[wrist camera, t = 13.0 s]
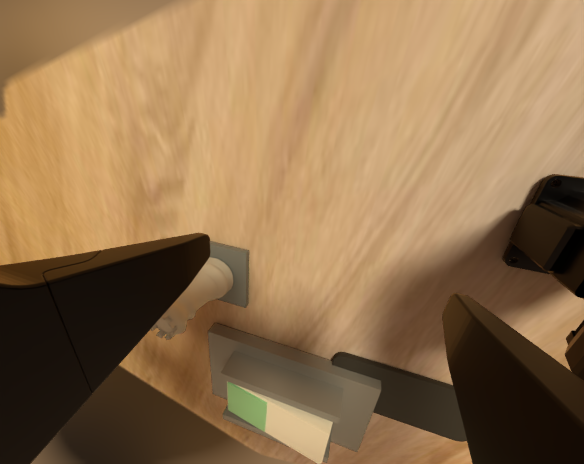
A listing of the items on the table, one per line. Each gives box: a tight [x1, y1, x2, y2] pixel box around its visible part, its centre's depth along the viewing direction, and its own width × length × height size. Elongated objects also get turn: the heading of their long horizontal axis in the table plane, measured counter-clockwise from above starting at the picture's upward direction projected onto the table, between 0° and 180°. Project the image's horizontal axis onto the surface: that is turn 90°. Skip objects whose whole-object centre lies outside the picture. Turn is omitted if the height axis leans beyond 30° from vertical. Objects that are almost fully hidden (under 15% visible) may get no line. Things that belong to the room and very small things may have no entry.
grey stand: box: [208, 323, 381, 463], centre depth 29 cm, size 20×12×4 cm, turn 84°
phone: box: [332, 352, 467, 441], centre depth 26 cm, size 7×1×15 cm
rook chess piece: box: [151, 257, 233, 340], centre depth 23 cm, size 4×4×8 cm
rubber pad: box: [210, 241, 249, 308], centre depth 27 cm, size 7×7×1 cm
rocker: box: [227, 382, 333, 464], centre depth 27 cm, size 12×6×2 cm, turn 84°
